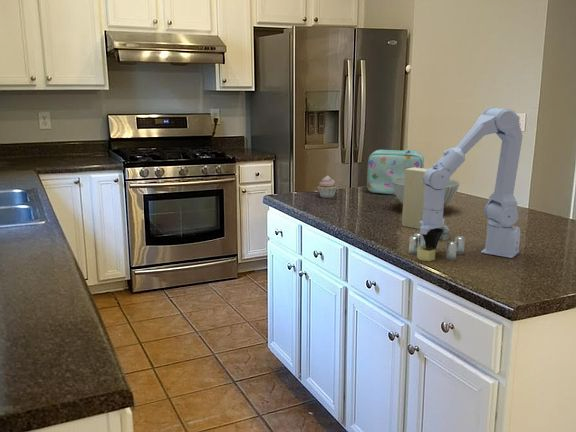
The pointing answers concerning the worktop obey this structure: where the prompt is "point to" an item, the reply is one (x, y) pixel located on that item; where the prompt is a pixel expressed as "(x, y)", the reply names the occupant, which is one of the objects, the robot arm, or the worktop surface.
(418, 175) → the beige rectangular block
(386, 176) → the lunch box
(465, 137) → the robot arm
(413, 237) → the cylinder
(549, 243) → the worktop surface
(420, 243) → the cylinder
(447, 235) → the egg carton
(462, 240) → the cylinder
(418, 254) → the nut
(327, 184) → the cupcake
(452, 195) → the decorative bowl
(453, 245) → the cylinder
